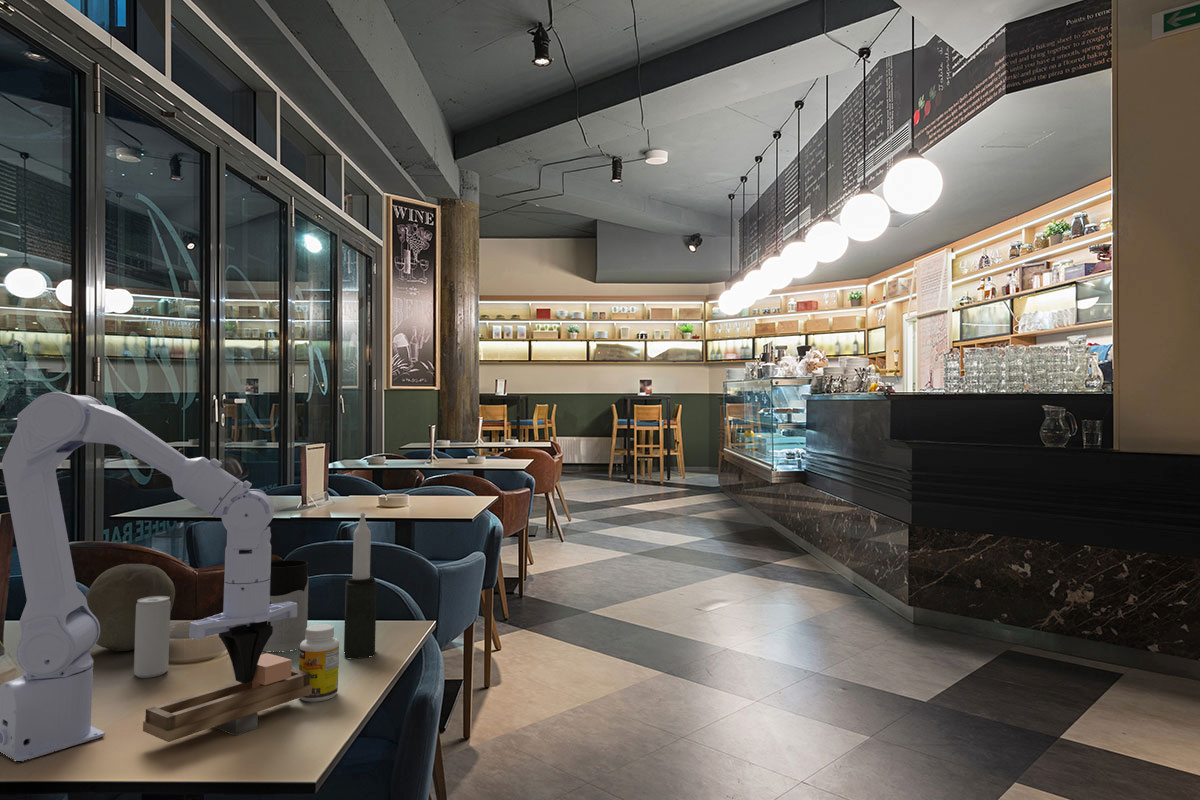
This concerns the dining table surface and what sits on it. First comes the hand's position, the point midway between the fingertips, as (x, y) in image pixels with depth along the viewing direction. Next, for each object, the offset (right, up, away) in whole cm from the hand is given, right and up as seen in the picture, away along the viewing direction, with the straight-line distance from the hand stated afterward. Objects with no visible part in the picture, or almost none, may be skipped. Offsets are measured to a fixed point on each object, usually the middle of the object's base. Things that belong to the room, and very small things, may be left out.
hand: (244, 680), depth 101 cm
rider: (+2, -2, +3) cm, 4 cm away
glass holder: (-12, -7, +34) cm, 36 cm away
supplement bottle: (+6, -6, +10) cm, 13 cm away
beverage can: (-24, -6, +19) cm, 32 cm away
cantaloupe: (-37, -7, +33) cm, 50 cm away
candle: (+6, -7, +31) cm, 32 cm away
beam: (-1, -6, -2) cm, 6 cm away
